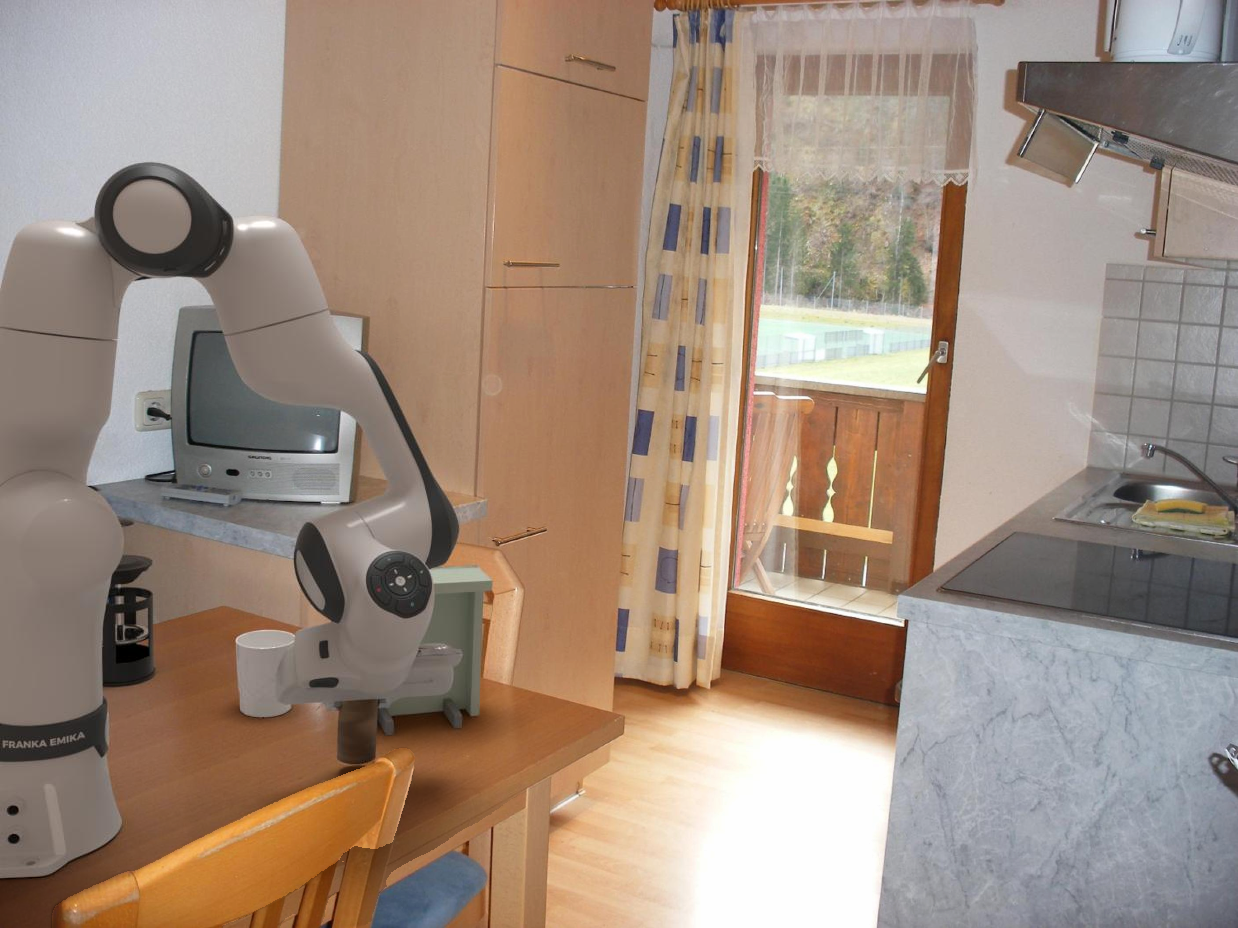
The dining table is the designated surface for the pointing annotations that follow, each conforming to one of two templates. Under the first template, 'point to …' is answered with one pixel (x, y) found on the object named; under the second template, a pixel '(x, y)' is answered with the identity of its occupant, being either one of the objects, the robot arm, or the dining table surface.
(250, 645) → the white cup
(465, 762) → the dining table surface
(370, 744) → the pepper mill
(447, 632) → the shelf
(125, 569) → the french press
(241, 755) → the dining table surface
